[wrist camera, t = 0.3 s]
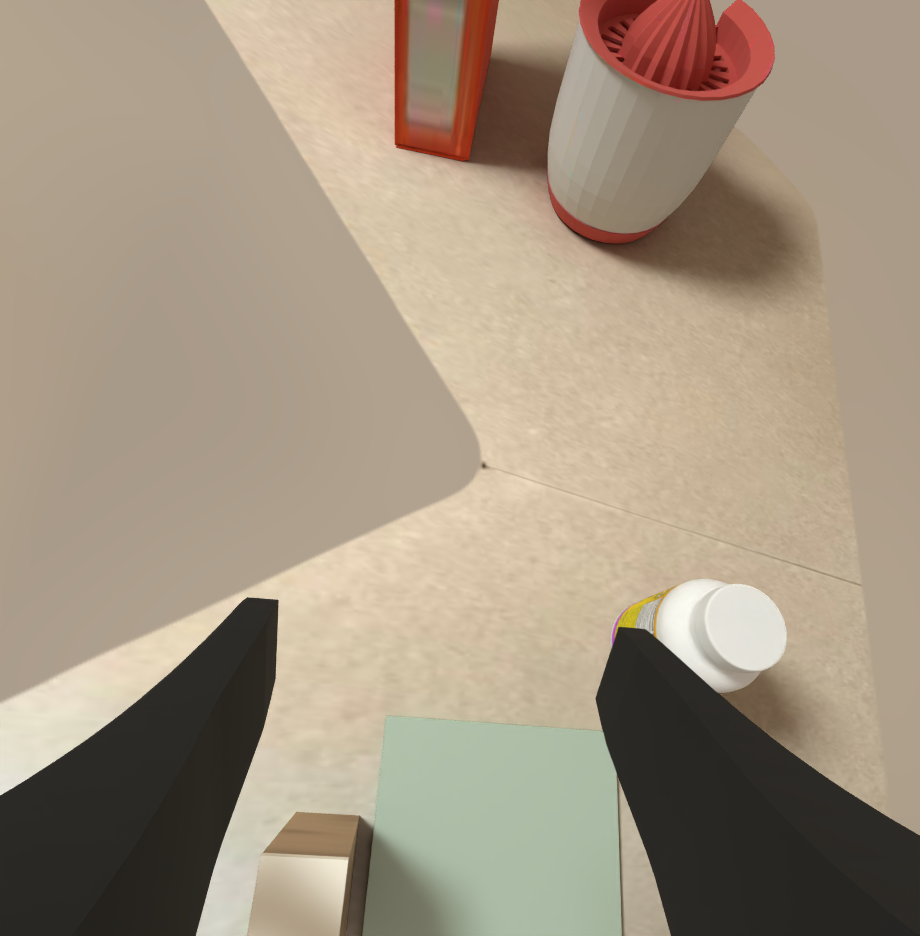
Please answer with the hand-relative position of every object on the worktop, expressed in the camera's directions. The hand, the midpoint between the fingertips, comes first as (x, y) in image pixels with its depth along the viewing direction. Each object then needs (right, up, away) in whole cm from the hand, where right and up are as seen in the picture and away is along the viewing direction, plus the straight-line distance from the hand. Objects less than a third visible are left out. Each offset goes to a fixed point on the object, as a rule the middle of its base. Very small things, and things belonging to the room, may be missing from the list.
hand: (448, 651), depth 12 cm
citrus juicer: (+16, +32, +48) cm, 60 cm away
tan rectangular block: (-8, -21, +23) cm, 33 cm away
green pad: (+3, -22, +24) cm, 33 cm away
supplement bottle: (+14, -10, +31) cm, 36 cm away
